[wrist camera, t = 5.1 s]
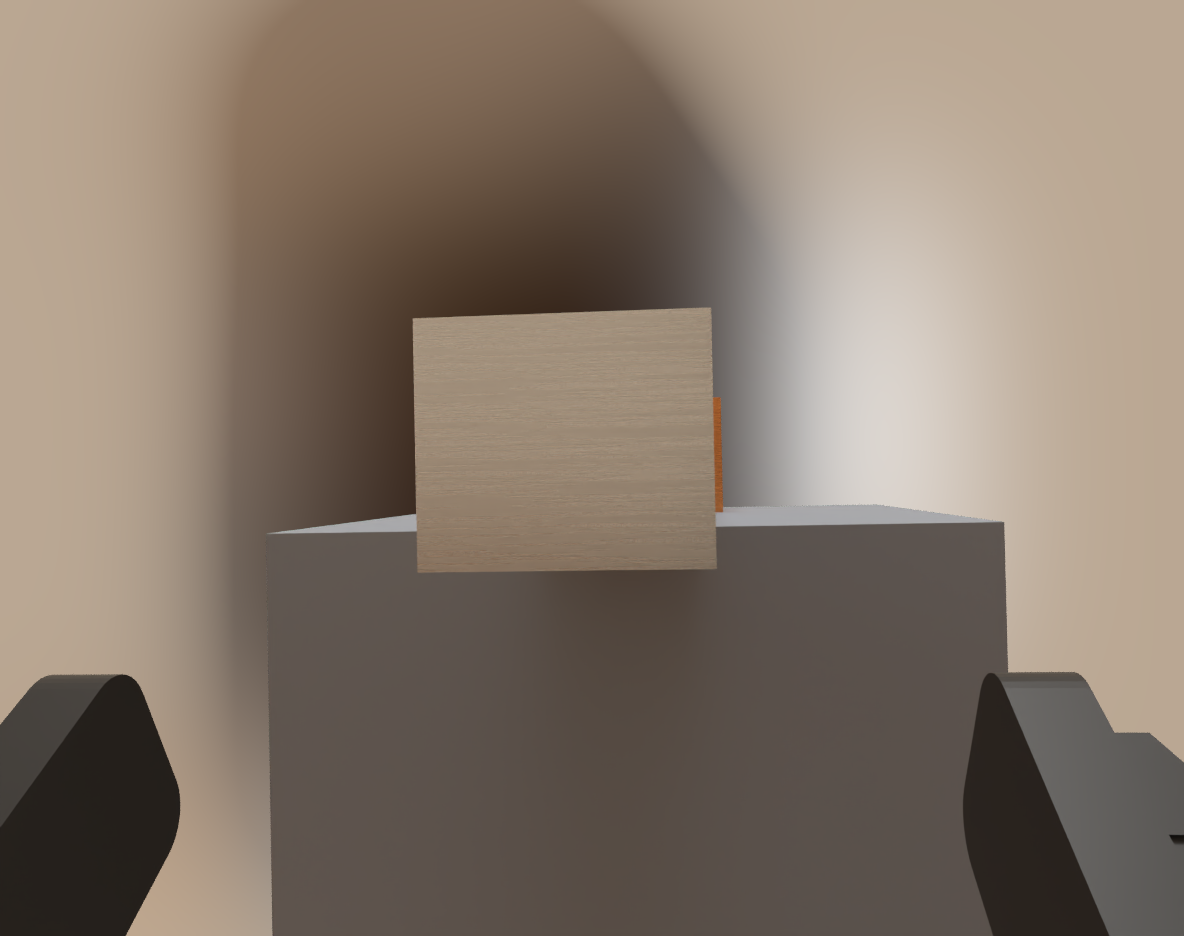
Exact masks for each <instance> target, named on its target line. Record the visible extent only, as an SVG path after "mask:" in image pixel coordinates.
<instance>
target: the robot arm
mask: <svg viewBox="0 0 1184 936" xmlns="http://www.w3.org/2000/svg"><path fill="white" fill-rule="evenodd" d="M179 817H180V794H179V788H178V784H177V781H176V779H175V776H174V773H173V771H172V768H171V766H170V763H169V760H168V758H167V755H166V752H165V750H164V747H163V745H162V742H161V740H160V737H159V734H158V731H157V729H156V726H155V724H154V721H153V718H152V716H151V713H150V710H149V708H148V705H147V703H146V700H145V697H144V695H143V692H142V690H141V688H140V686H139V685H138V683H137V682H136V681H135V680H134V679H133V678H132V677H130V676H128V675H49V676H46V677H44V678H41V679H40V680H39V681H37V682H36V683H35V684H34V685H33V686H32V687H31V688H30V689H29V690H28V691H27V693H26V694H25V695H24V696H23V698H22V699H21V700H20V701H19V702H18V704H17V705H16V706H15V708H14V709H13V710H12V711H11V712H10V714H9V715H8V716H7V717H6V718H5V720H4V721H3V722H2V723H1V725H0V936H126V934H127V932H128V930H129V928H130V926H131V924H132V923H133V921H134V919H135V917H136V915H137V913H138V911H139V909H140V907H141V906H142V904H143V902H144V900H145V898H146V896H147V894H148V892H149V890H150V888H151V887H152V885H153V883H154V881H155V879H156V877H157V875H158V873H159V871H160V869H161V868H162V866H163V864H164V862H165V860H166V858H167V856H168V854H169V852H170V850H171V848H172V845H173V843H174V840H175V837H176V833H177V829H178V823H179ZM963 822H964V832H965V840H966V845H967V851H968V855H969V859H970V863H971V867H972V870H973V873H974V876H975V879H976V883H977V886H978V889H979V892H980V895H981V899H982V902H983V905H984V908H985V911H986V915H987V918H988V921H989V924H990V927H991V931H992V934H993V936H1184V762H1182V761H1181V760H1180V759H1179V758H1178V757H1177V756H1175V755H1174V754H1173V753H1172V752H1171V751H1170V750H1169V749H1167V748H1166V747H1165V746H1164V745H1163V744H1161V742H1159V741H1158V740H1157V739H1156V738H1155V737H1153V736H1152V735H1151V734H1150V733H1114V731H1113V730H1112V728H1111V726H1110V724H1109V722H1108V720H1107V718H1106V716H1105V714H1104V712H1103V711H1102V709H1101V707H1100V705H1099V703H1098V701H1097V700H1096V698H1095V696H1094V694H1093V692H1092V690H1091V689H1090V687H1089V685H1088V683H1087V682H1086V680H1085V679H1084V678H1083V677H1082V676H1081V675H1079V674H1078V673H1075V672H1024V673H1023V672H1021V673H1020V672H1019V673H1017V672H1016V673H988V674H987V675H986V676H985V678H984V680H983V682H982V685H981V690H980V695H979V701H978V707H977V713H976V720H975V726H974V732H973V738H972V744H971V750H970V756H969V762H968V768H967V774H966V780H965V786H964V793H963Z"/></svg>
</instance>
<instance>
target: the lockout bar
mask: <svg viewBox="0 0 1184 936" xmlns="http://www.w3.org/2000/svg"><path fill="white" fill-rule="evenodd" d="M711 332H712V331H711V308H685V309H659V310H631V311H606V312H605V311H604V312H577V313H549V314H525V315H524V314H523V315H497V316H469V317H441V318H416V319H415V318H414V319H413V348H414V349H413V352H414V405H415V406H414V407H415V461H416V518H417V572H418V573H428V572H513V571H597V570H682V569H717V557H716V512H723V494H722V493H723V492H722V447H721V404H720V403H721V401H720V398H713V381H712V380H713V378H712V333H711Z"/></svg>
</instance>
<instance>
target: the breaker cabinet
mask: <svg viewBox="0 0 1184 936" xmlns="http://www.w3.org/2000/svg"><path fill="white" fill-rule="evenodd" d="M716 557H717V569H682V570H597V571H513V572H428V573H418V572H417V518H416V514H414V515H406V516H399V517H391V518H384V519H375V520H368V521H360V522H353V523H345V524H337V525H329V526H323V527H314V528H306V529H299V530H291V531H284V532H277V533H268V534H266V561H267V562H266V563H267V621H268V680H269V681H268V683H269V745H270V806H271V868H272V869H271V870H272V929H273V930H272V931H273V936H993V934H992V931H991V927H990V924H989V921H988V918H987V915H986V911H985V908H984V905H983V902H982V899H981V895H980V892H979V889H978V886H977V883H976V879H975V876H974V873H973V870H972V867H971V863H970V859H969V855H968V851H967V845H966V840H965V832H964V822H963V793H964V786H965V780H966V774H967V768H968V762H969V756H970V750H971V744H972V738H973V732H974V726H975V720H976V713H977V707H978V701H979V695H980V690H981V685H982V682H983V680H984V678H985V676H986V675H987V674H988V673H1008V657H1007V656H1008V655H1007V618H1006V617H1007V616H1006V580H1005V579H1006V578H1005V541H1004V522H1000V521H993V520H985V519H978V518H971V517H963V516H955V515H949V514H941V513H934V512H927V511H919V510H912V509H905V508H898V507H890V506H883V505H830V506H829V505H827V506H773V507H723V512H716Z"/></svg>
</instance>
